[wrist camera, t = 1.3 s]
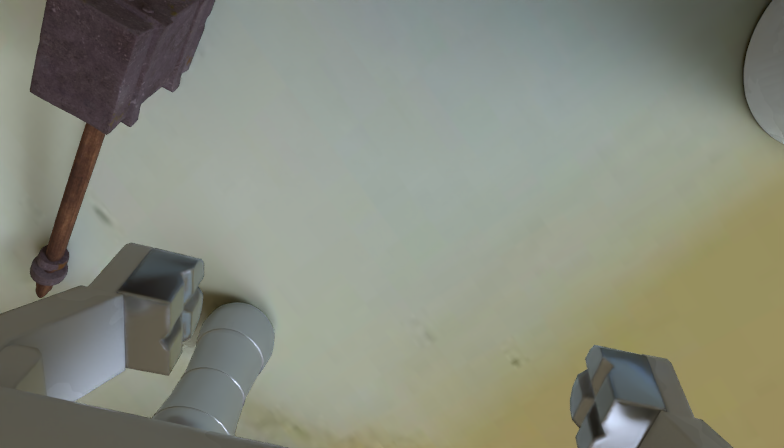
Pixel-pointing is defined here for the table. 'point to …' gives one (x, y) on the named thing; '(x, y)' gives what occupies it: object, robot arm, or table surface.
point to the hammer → (105, 84)
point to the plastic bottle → (221, 369)
